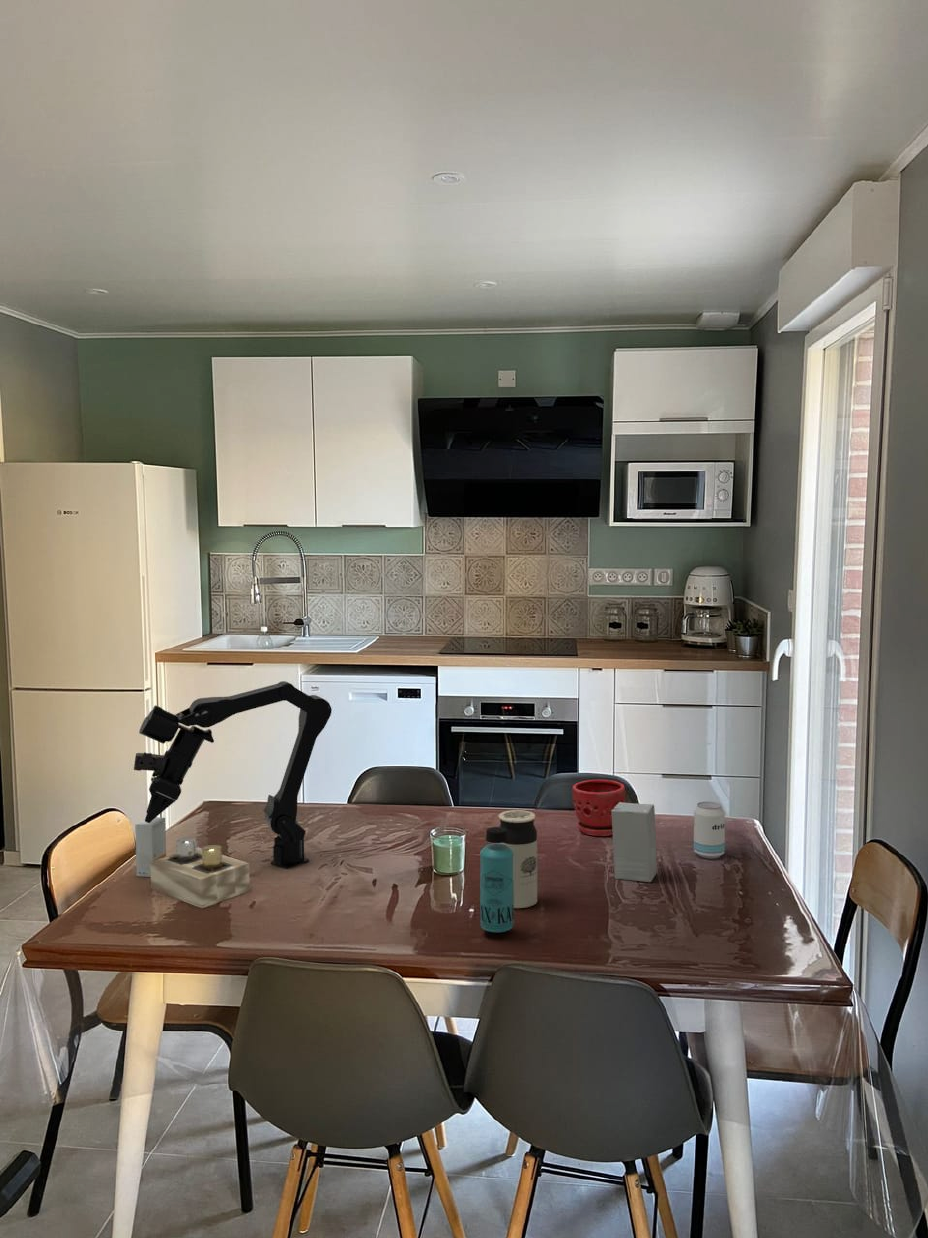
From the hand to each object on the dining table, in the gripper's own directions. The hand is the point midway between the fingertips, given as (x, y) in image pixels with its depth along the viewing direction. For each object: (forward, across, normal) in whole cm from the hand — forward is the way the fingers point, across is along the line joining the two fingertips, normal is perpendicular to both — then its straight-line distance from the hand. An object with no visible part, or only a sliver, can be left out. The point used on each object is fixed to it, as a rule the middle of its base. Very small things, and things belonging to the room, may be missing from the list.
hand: (147, 817), depth 200 cm
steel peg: (+6, +3, +12) cm, 14 cm away
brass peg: (+4, +11, +17) cm, 20 cm away
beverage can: (-47, +22, +116) cm, 127 cm away
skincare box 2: (-35, +30, +96) cm, 107 cm away
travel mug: (-20, +35, +71) cm, 82 cm away
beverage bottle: (-15, +48, +64) cm, 81 cm away
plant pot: (-40, -3, +101) cm, 109 cm away
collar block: (+8, +7, +16) cm, 20 cm away
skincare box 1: (+12, -8, +7) cm, 16 cm away
